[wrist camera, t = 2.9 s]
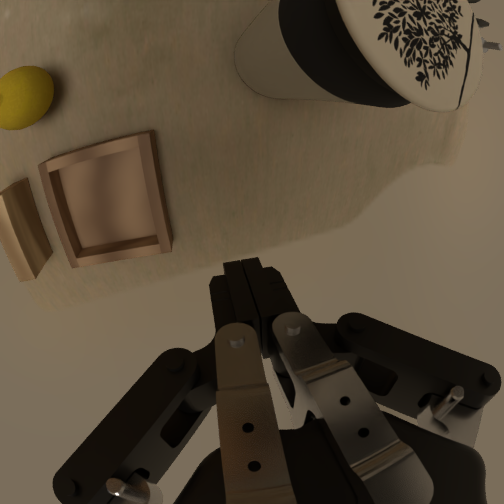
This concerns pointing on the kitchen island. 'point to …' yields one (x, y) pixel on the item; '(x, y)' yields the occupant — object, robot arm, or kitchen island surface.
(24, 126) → the lemon
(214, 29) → the kitchen island surface
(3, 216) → the oak stop
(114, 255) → the walnut tray
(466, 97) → the travel mug
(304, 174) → the kitchen island surface
